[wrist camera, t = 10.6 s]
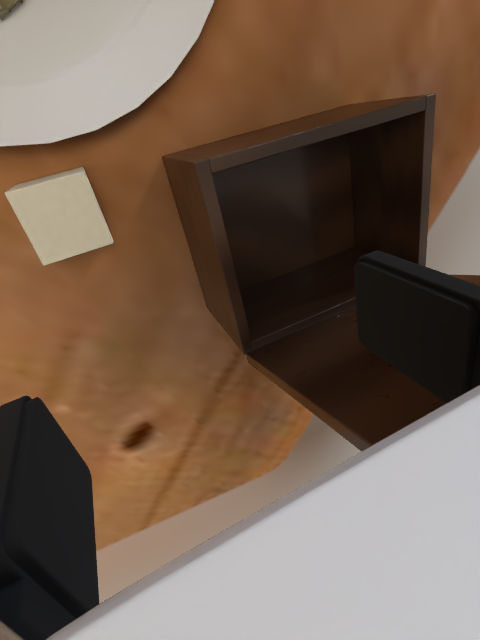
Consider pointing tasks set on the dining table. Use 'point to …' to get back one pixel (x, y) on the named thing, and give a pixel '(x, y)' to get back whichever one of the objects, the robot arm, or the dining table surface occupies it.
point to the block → (60, 215)
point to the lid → (345, 379)
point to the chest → (303, 211)
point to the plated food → (86, 61)
